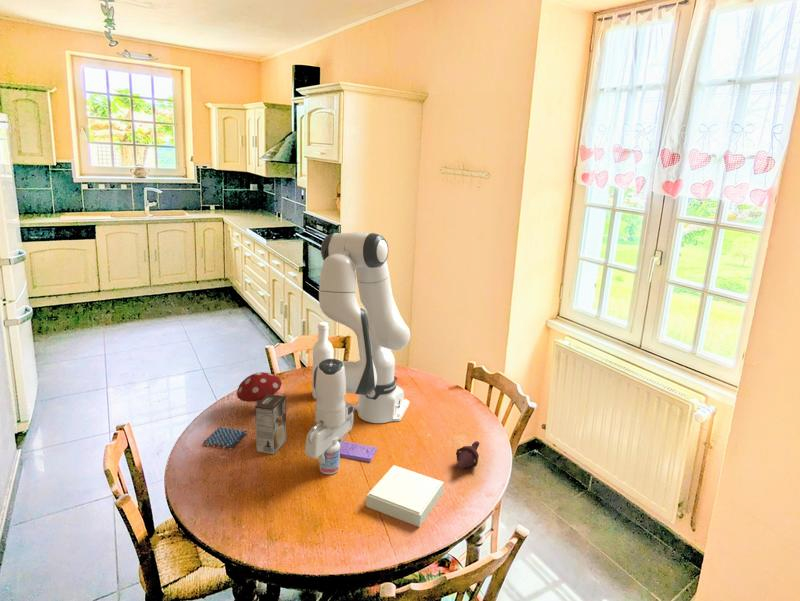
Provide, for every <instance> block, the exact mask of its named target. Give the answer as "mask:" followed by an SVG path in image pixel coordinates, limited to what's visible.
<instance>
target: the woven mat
mask: <svg viewBox="0 0 800 601" xmlns="http://www.w3.org/2000/svg"><path fill="white" fill-rule="evenodd" d="M247 435H248V434H247V430H243V429H240V430H239V429H238V428H237V429H236V428H231V427H227V426H226V427H223V426H219V427H217V429H215V430H214V432H212V433H211V434H210V435H209V437H207V438H206V439H205V440H204V442H203V447H205V446H206V447H210V448H212V447H213V448H218V449H219V448H220V449H222V450H225V449H226V450H228V449H229V451H232V450H233V449H235V448H236V446H237V445H238V444H239V443H240V442H241V440H243V439H244V437H246V436H247Z"/></svg>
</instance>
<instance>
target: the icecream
mask: <svg viewBox="0 0 800 601" xmlns="http://www.w3.org/2000/svg"><path fill="white" fill-rule="evenodd" d="M479 446H480V442H479V441H473V443H472V444H471V445H465V446H462V447H460V448H458V449H456V453H455V455H456V461H457V465H456V468H457V469H462V468H465V469H469V470H472V469H473V468H475V467H477V465H478V463H479V456H480V455H479V453H478V451H477V450H478V448H479Z"/></svg>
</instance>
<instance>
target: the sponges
mask: <svg viewBox="0 0 800 601" xmlns="http://www.w3.org/2000/svg"><path fill="white" fill-rule="evenodd" d="M377 449H378V447H377V446H372V445H365V444H360V443H355V442H350V441H346V440H345V441H344V440H342V442H341V444H340V458H341V457H343V458H345V459H347V458H348V459H350V460H351V459H352V460H357V461H361V462H366V463H372V460H373V459H374V456H375V455H376V452H377V451H378V450H377Z"/></svg>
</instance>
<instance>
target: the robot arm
mask: <svg viewBox="0 0 800 601" xmlns="http://www.w3.org/2000/svg"><path fill="white" fill-rule="evenodd" d="M320 253H321V257H322V260H323V262H322V267H321V271H320V278H319V289H318V303H319V308H320V309H321V312H322V313H323V314H324V315H325V316H326V317H328V319H330V320H332V321H333V322H336V323H339V324H341V325H343V326H345V327H348V328H349V329H350V330H351V331H353V332H354V334H355V336H356V341H357V348H358V354H359V360H358V361H355V360H354V361H352V360H348V361H347V360H339V359H336V358H333V359H326V360H323V361H322V362H320V363H319V365H318V366H317V367H316V369H315V371H314V388H315V393H316V397H317V399H315V405H314V421H315V423H316V424H315V425H313V426H312V427H311V428H310V430H309V431H308V432H307V435H306V437H305V439H306V440H305V448H304V454H305V455H306V456H307V457H309V458H311V459H314V460H315V459H318V463H322V464H323V463H324V462H326V458H327V456H324V454H325V451H326V450H327V449H328V448H330V447H331V446H332V445H333V444H332V443H333V442H332V441H333V439H335V438H336V437H337V436H338V442H339V443H340V444H341V442H342V441H343V439H344V436H345V435H347V434H348V433H349V431H351V430H352V429H353V425H354V411H357V416H358V417H359V418H360V419H361V420H363V421H365V422H368V423H372V424H386V423H391V422H400V421H401V420H402V418H403V416H404V415H405V413H406V411H407V410H408V408H409V406H410V400H409V399H407V398H405V393H404V392H405V391H404V389H402V388H401V387H400V386H398V385H397V382H398V381H399V379H400V375H397V374H395V373H396V372H395V368H396V359H395V356H394V353H393V352H392V351H401V350H403V349H404V348H406V346H407V345H408V344H409V342H410V339H411V330H410V328H409V327H408V325H407V324H406V323H405V321H404V319H403V317H402V315H401V313H400V311H399V309H398V306H397V304H396V303H397V302H396V301H395V298H394V295H393V289H392V284H391V277H390V276H391V275H390V270H389V266H388V262H387V261H388V260H387V259H388V258H389V244H388V241H387V240H386V239H385V237H384V236H383V235H381V234H379V233H374V232H371V233H366V232H360V231H358V232H357V231H353V232H341V233H340V232H334V233H330V234H328V235H326V236H325V237H324V239H323V241H322V242H321V245H320ZM357 289H358V295H359V299H360V303H361V304H362V306H363V307H360V305H359V303H358V302H359V301H358V299H357ZM396 381H397V382H396ZM346 394H354V395H358V400H357V403H356V404H353V403H350V402H347V401H346V399H345V397H346Z"/></svg>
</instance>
